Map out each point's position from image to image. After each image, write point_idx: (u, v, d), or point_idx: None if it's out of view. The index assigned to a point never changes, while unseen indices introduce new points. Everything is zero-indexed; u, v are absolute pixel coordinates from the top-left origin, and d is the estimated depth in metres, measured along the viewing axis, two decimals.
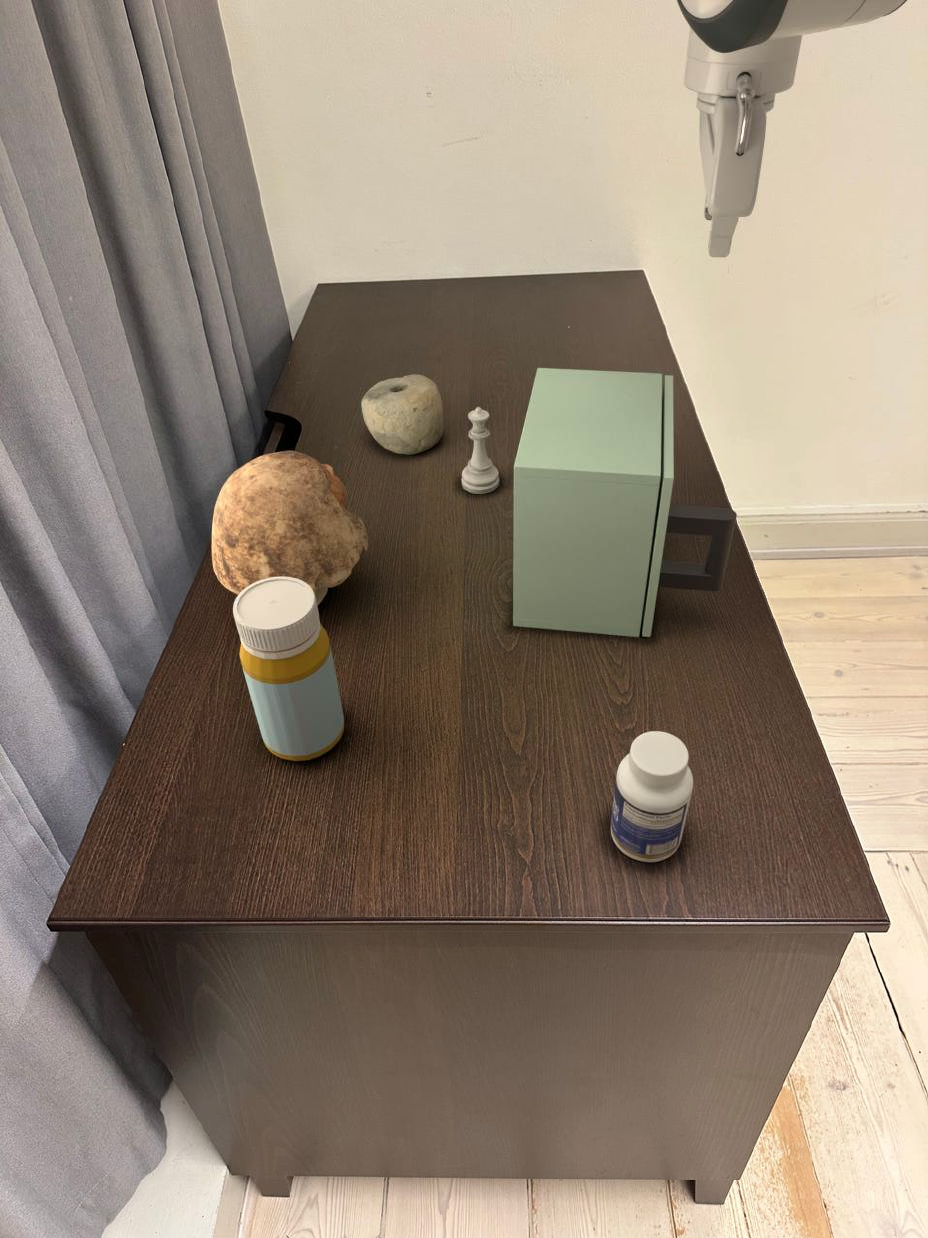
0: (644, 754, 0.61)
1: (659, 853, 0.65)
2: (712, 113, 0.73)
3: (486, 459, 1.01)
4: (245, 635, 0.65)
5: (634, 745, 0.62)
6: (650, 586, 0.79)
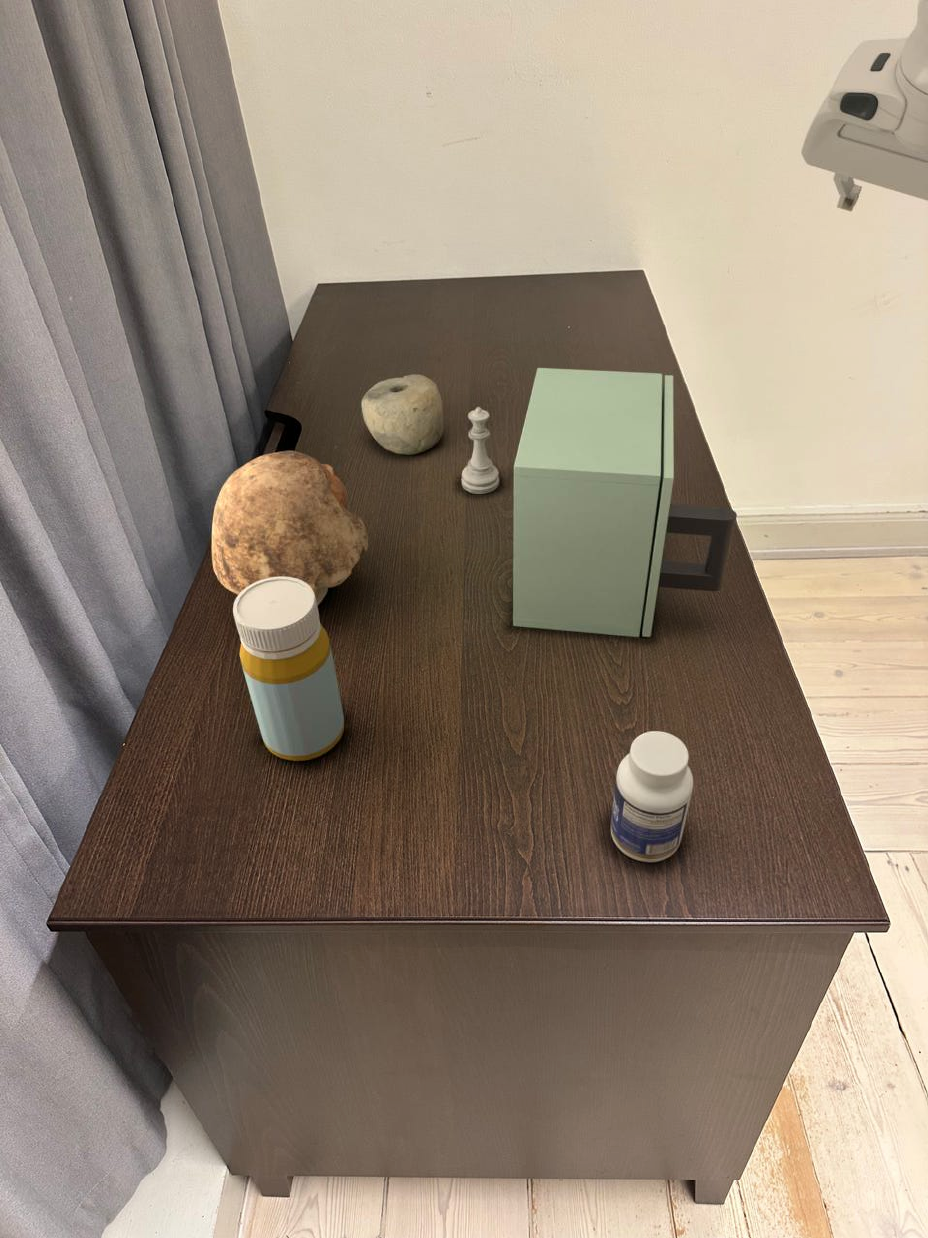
0: (644, 754, 0.61)
1: (659, 853, 0.65)
2: None
3: (486, 459, 1.01)
4: (245, 635, 0.65)
5: (634, 745, 0.62)
6: (650, 586, 0.79)
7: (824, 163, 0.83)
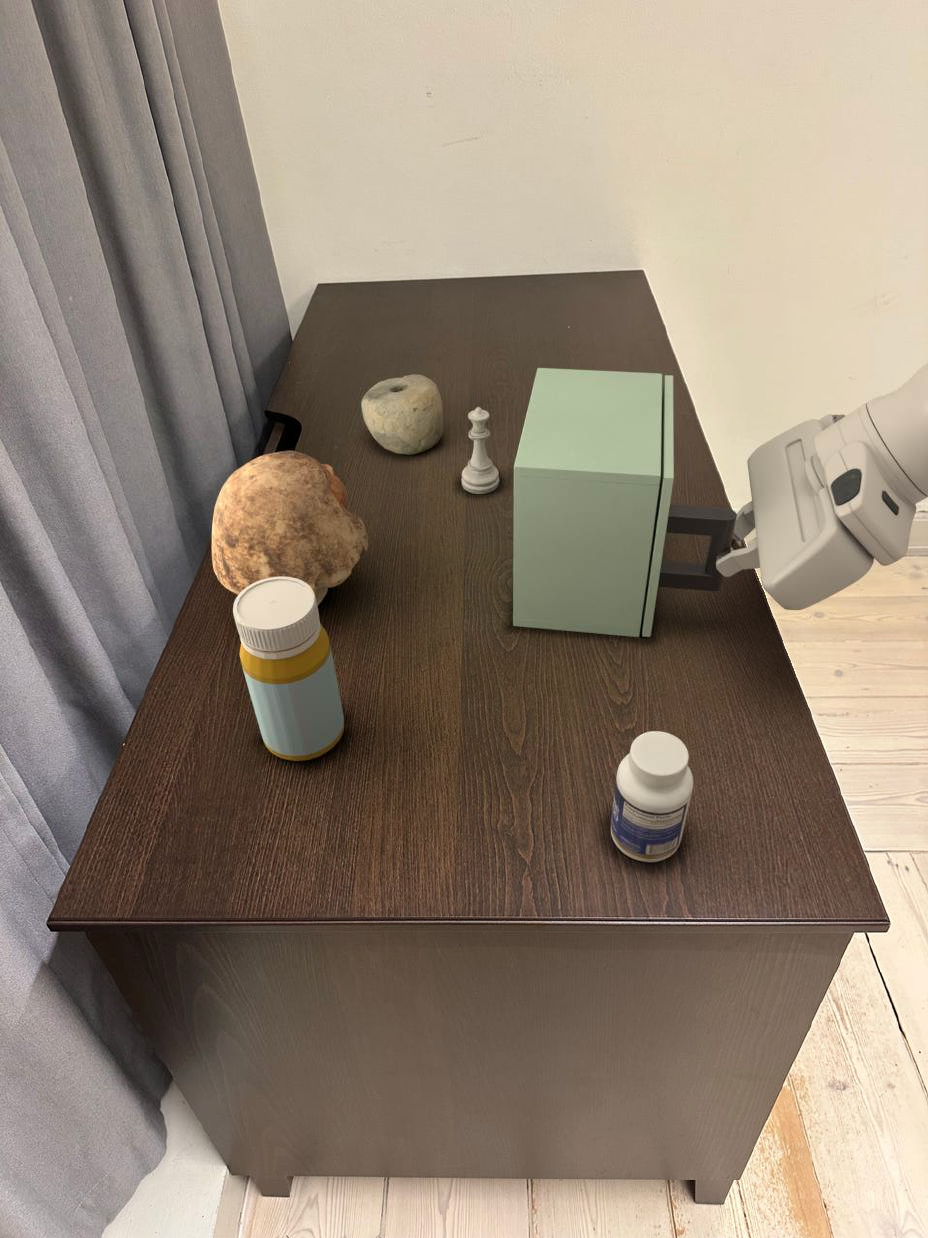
0: (644, 754, 0.61)
1: (659, 853, 0.65)
2: None
3: (486, 459, 1.01)
4: (245, 635, 0.65)
5: (634, 745, 0.62)
6: (650, 586, 0.79)
7: None
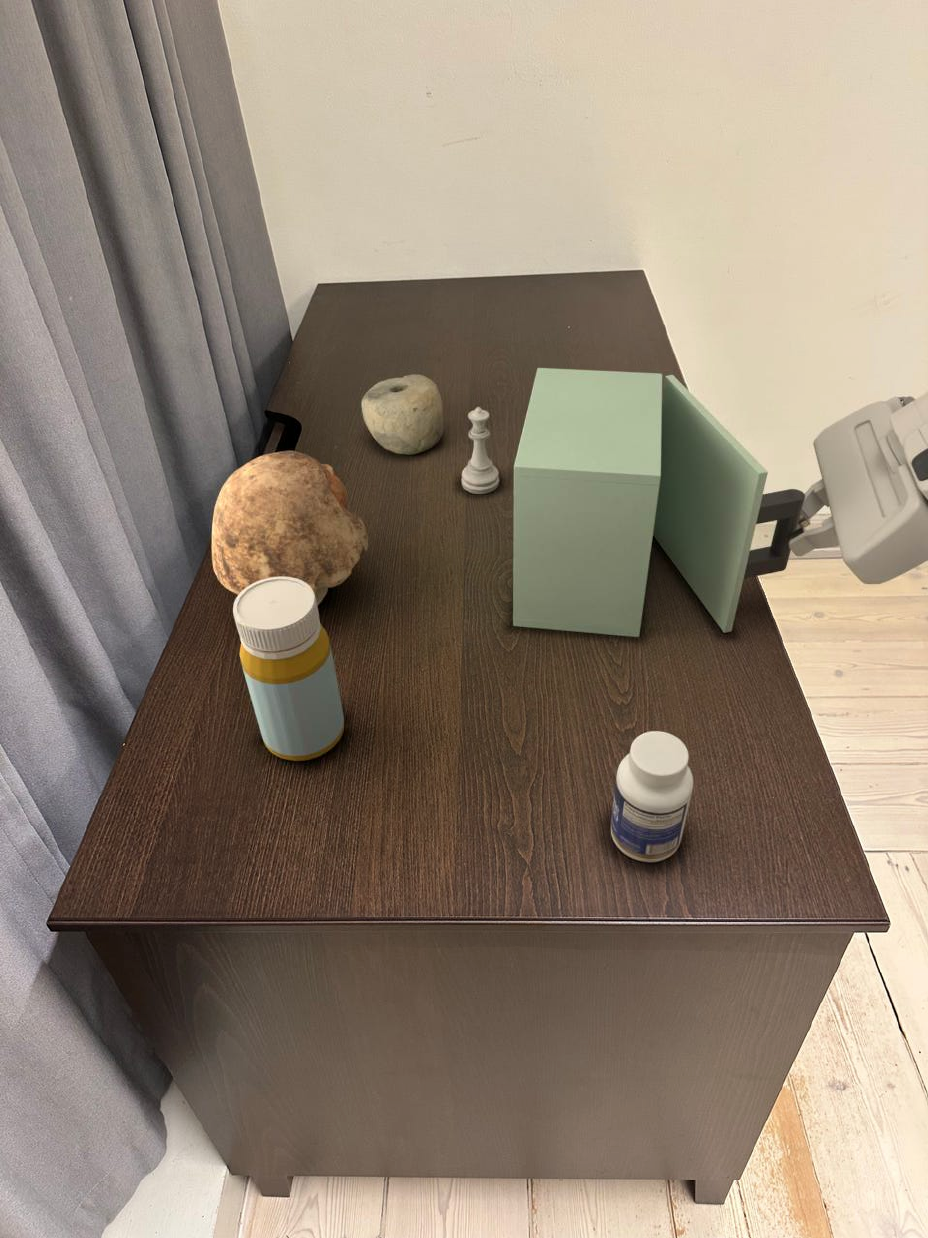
0: (644, 754, 0.61)
1: (659, 853, 0.65)
2: None
3: (486, 459, 1.01)
4: (245, 635, 0.65)
5: (634, 745, 0.62)
6: (736, 582, 0.79)
7: None
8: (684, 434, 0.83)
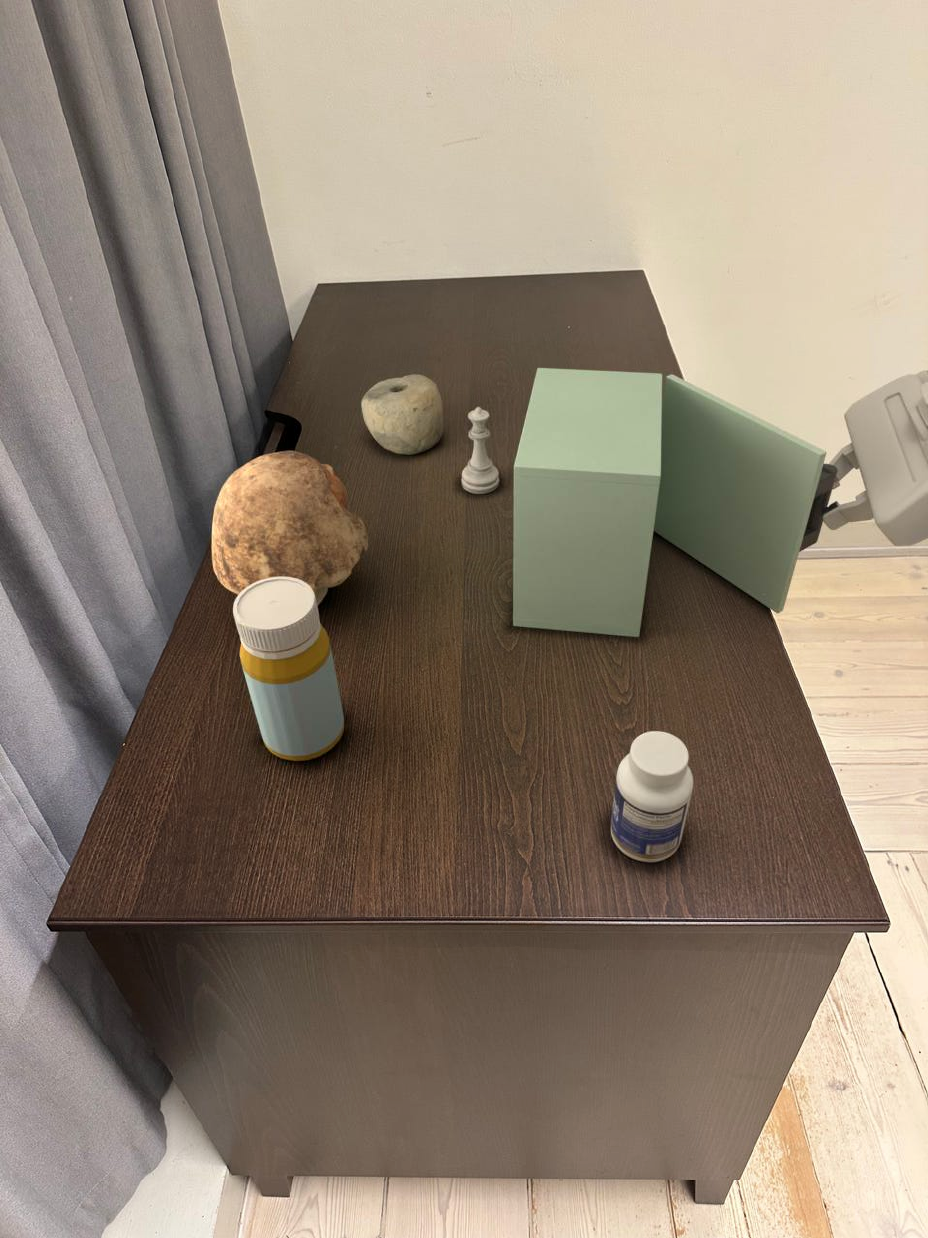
0: (644, 754, 0.61)
1: (659, 853, 0.65)
2: None
3: (486, 459, 1.01)
4: (245, 635, 0.65)
5: (634, 745, 0.62)
6: (792, 563, 0.81)
7: None
8: (700, 430, 0.84)
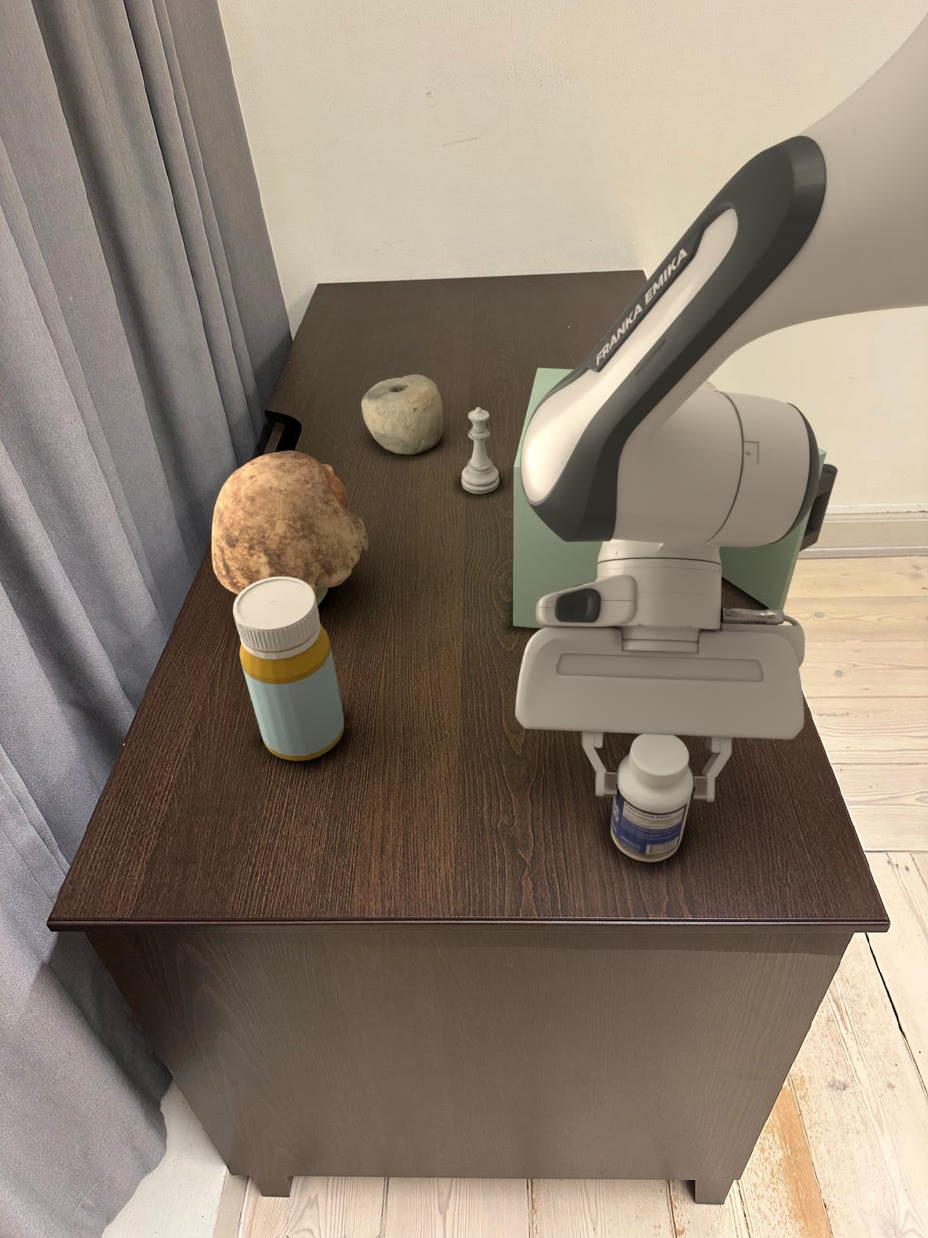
0: (644, 754, 0.61)
1: (659, 852, 0.65)
2: (695, 651, 0.62)
3: (486, 459, 1.01)
4: (245, 635, 0.65)
5: (634, 745, 0.62)
6: (792, 563, 0.81)
7: (549, 717, 0.63)
8: None
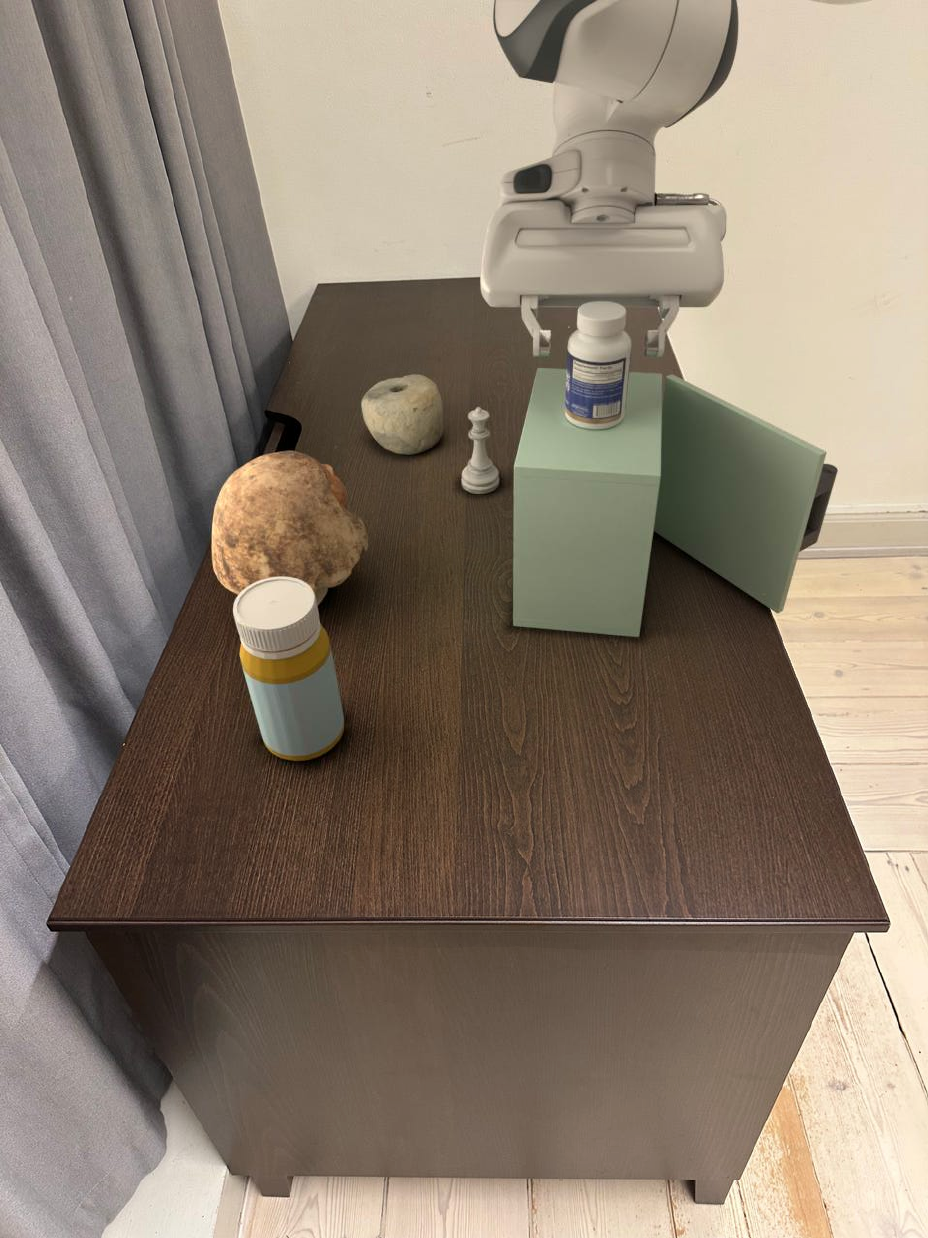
0: (589, 311, 0.73)
1: (604, 415, 0.76)
2: (632, 220, 0.73)
3: (486, 459, 1.01)
4: (245, 635, 0.65)
5: (581, 307, 0.73)
6: (792, 563, 0.81)
7: (509, 280, 0.74)
8: (700, 430, 0.84)
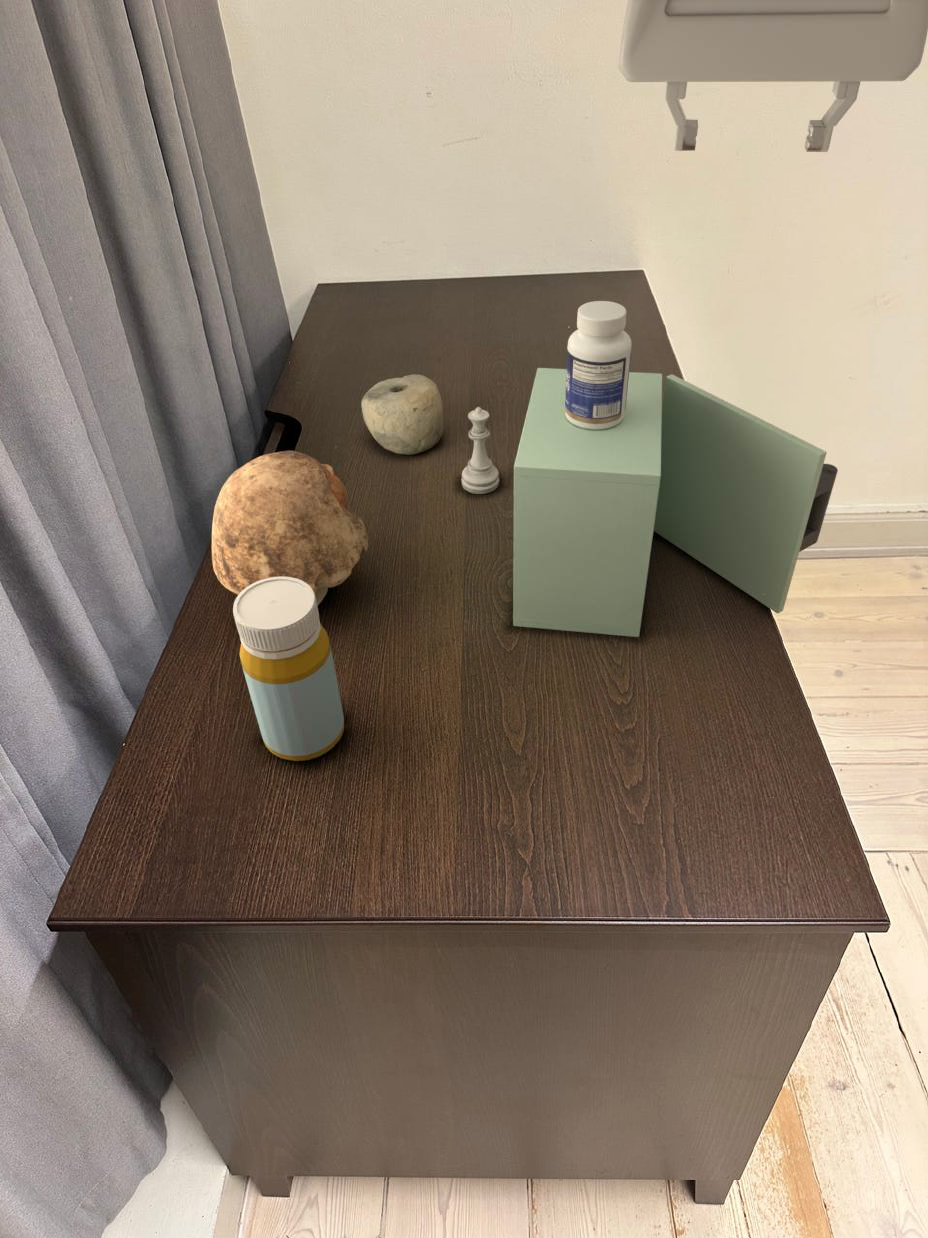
0: (589, 311, 0.73)
1: (604, 415, 0.76)
2: None
3: (486, 459, 1.01)
4: (245, 635, 0.65)
5: (581, 307, 0.73)
6: (792, 563, 0.81)
7: (653, 67, 0.62)
8: (700, 430, 0.84)
